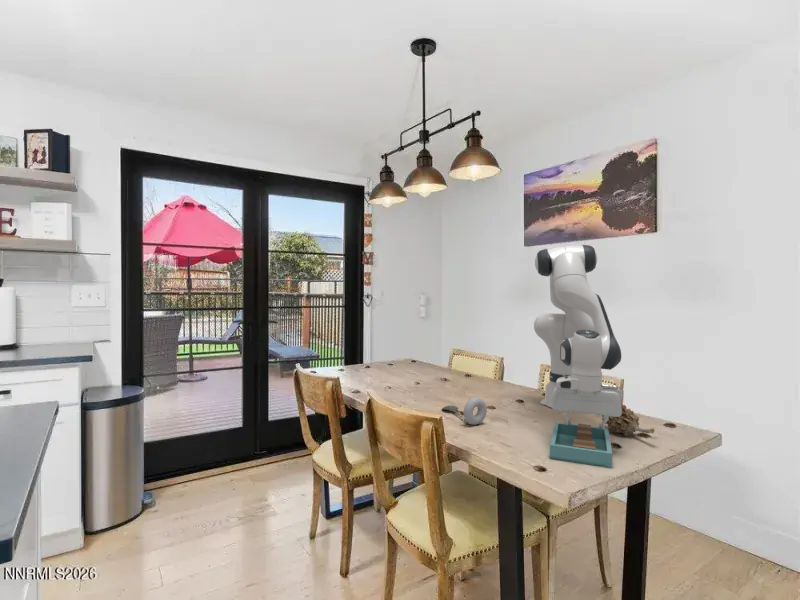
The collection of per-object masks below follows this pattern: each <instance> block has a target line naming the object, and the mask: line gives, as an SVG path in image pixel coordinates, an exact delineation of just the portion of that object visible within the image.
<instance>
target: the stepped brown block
mask: <svg viewBox="0 0 800 600" xmlns="http://www.w3.org/2000/svg"><path fill="white" fill-rule="evenodd" d="M577 425H578V431H577V439H574V442H573V447H578V448H585V449H592V450H596V447H595V441H591V440H592V431H591V427H592V424H583V423H577Z"/></svg>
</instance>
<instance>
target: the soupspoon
mask: <svg viewBox="0 0 800 600" xmlns="http://www.w3.org/2000/svg"><path fill="white" fill-rule="evenodd" d="M441 410H447V411H450V412H453V413H455V414H457V415H458V416H459V417H460V418H462V419H463V421H464V425H470V424H469V423H468V422H467V421H466V420H465V418H464V415H462V414H460V413H459V412H458V410H459V407H458V406H455V405H452V404H451V405H446V406H443V407H442V408H441Z"/></svg>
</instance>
